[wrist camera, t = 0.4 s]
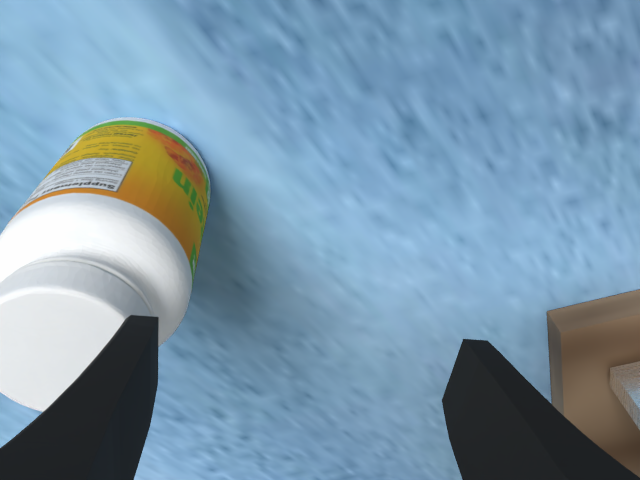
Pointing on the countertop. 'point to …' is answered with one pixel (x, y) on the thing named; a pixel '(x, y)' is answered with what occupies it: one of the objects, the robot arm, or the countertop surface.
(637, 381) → the gauge plunger
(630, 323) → the brown piece
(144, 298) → the supplement bottle
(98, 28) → the countertop surface
